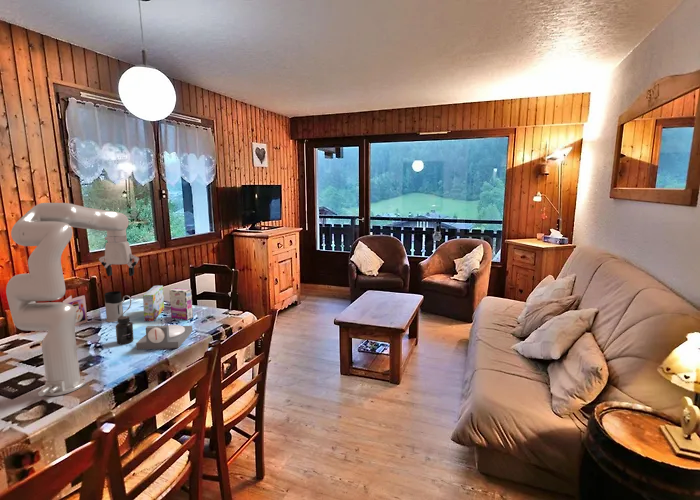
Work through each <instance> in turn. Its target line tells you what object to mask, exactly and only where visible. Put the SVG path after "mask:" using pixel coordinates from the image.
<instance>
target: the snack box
mask: <svg viewBox="0 0 700 500" xmlns="http://www.w3.org/2000/svg"><path fill="white" fill-rule="evenodd" d="M164 299H165V298H164V285H153V286H152V287H151V288H150V289H149V290H147V291H146V292H145V293H144V294H143V295H142V300H143V301H142V304H143V321H144V322H154V321H155V320H156V319H157V318H158V317H159V316H160V315H161V314H162V312H163V311H164V310H165V300H164Z"/></svg>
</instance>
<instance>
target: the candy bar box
mask: <svg viewBox="0 0 700 500" xmlns="http://www.w3.org/2000/svg"><path fill="white" fill-rule="evenodd" d="M169 302H170V303H169V304H170V305H169V306H170V316H171V317H170V319H176V320H185V321H189V320H191V319H193V318H194V314H193V313H194V312H193V311H194V310H193V295H192V289H187V288H178V287H177V288H172V289H170V290H169Z"/></svg>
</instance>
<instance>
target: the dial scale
mask: <svg viewBox="0 0 700 500" xmlns="http://www.w3.org/2000/svg"><path fill="white" fill-rule="evenodd" d="M191 332H193V325H179V324H178V325H177V324H170V325H169V324H168V325H147V326H146V327H145V335H144V336H143V337H141V338H140V339H139V340H138V341H137V342H136V343H135V344H136V345H135V346H136V350H156V349H157V350H161V349H179V348H180V347H181V346H182V344H183V343H184V342H185V341H186V339H188V338H189V336H190V335H191V334H192V333H191Z"/></svg>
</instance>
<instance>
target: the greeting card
mask: <svg viewBox="0 0 700 500" xmlns="http://www.w3.org/2000/svg"><path fill="white" fill-rule="evenodd" d="M62 302H63V303H68V304H71V305H72V306H74V308H75V309H76V322H75V327H77V326H80V325H83V324H87V323H88V313H87V304H86V303H87V302H86V296H85V294H84V295H80V296H77V297H74V298H73V297H72V295H70V296H68V297H66V299H64V300H63V301H62Z"/></svg>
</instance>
